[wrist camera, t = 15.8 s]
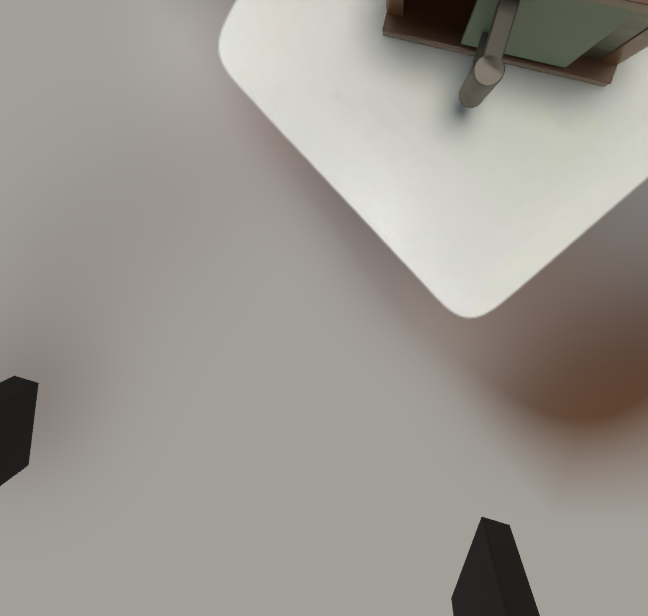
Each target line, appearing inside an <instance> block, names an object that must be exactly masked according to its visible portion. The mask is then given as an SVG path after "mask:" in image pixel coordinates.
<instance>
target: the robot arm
mask: <svg viewBox="0 0 648 616" xmlns="http://www.w3.org/2000/svg"><path fill="white" fill-rule="evenodd" d="M37 391H38V383H37V382H33V381H30V380H26V379H23V378H20V377H16V376H13V377H11V378H9V379H7V380H5V381H3V382H0V486H1V485H2V484H4V483H5V482H6V481H8V480H9V479H10V478H12V477H13V476H14V475H16V474H17V473H18V472H20V471H21V470H23V469H24V468H25V467H26V466H28V465H29V456H30V448H31V440H32V432H33V424H34V415H35V407H36V399H37ZM451 600H452V606H453V615H454V616H540V615H539V612H538V609H537V606H536V603H535V600H534V597H533V594H532V591H531V588H530V585H529V582H528V579H527V576H526V573H525V570H524V567H523V564H522V561H521V558H520V555H519V552H518V549H517V546H516V543H515V540H514V537H513V534H512V531H511V528H510V525H507V524H504V523H501V522H498V521H494V520H491V519H488V518H484V517H481V520H480V523H479V525H478V528H477V531H476V533H475V536H474V539H473V541H472V544H471V547H470V550H469V552H468V555H467V558H466V560H465V563H464V566H463V568H462V571H461V574H460V577H459V579H458V582H457V585H456V588H455V590H454V592H453V595H452V598H451Z"/></svg>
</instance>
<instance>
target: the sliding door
mask: <svg viewBox="0 0 648 616" xmlns="http://www.w3.org/2000/svg"><path fill="white" fill-rule="evenodd" d="M635 13H636V12H635V11H630V10H626V9H621V8H616V7H612V6H607V5H603V4H598V3H594V2H589V1H585V0H477V1H476V4H475V6H474V9H473V11H472V14H471V16H470V19H469V21H468V24H467V27H466V29H465V32H464V34H463V37H462V41H461V44H464V45H468V46H473V47H477V50H476V53H475V57H474V60H473V64H472V67H471V71H470V73H469V75H468V77H467V79H466V80H465V82H464V84H463V86H462V87H461V89H460V92H459V100H460V102H461V104H462V105H463V106H465V107H468V108H473V107H476V106H478V105H479V104H480V103H481V102H482V101H483V100H484V99H485V97H486V96H487V95H488V94H489V93H490V92H491V90H492V89H493V88H494V87H495V86H496V85H497V84H498V82H499V81H500V80H501V79H502V77H503V75H504V72H505V66H504V62H503V60H502V59H503V55H504V54H507V55H512V56H516V57H520V58H525V59H529V60H533V61H538V62H542V63H546V64H551V65H555V66H559V67H564V68H565V67H567V66H568V65H569V64H571V63H572V62H573V61H574V60H576V59H577V58H578V57H580V56H581V55H582V54H583V53H585V52H586V51H587V50H589V49H590V48H591V47H592V46H594V45H595V44H596V43H598V42H599V41H600V40H601V39H603V38H604V37H605V36H607V35H608V34H609V33H610V32H612V31H613V30H614V29H616V28H617V27H618V26H619V25H621V24H622V23H623V22H625V21H626V20H627V19H629V18H630V17H631V16H632V15H634V14H635Z"/></svg>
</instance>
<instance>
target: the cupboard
mask: <svg viewBox="0 0 648 616" xmlns="http://www.w3.org/2000/svg"><path fill="white" fill-rule="evenodd" d="M476 1H477V0H386V6H387V14H386V18H385V22H384V26H383V30H382V31H383V35H386V36H390V37H394V38H398V39H403V40H407V41H411V42H416V43H420V44H424V45H429V46H433V47H437V48H442V49H446V50H450V51H454V52H459V53H463V54H467V55H472V56H475V53H476V50H477V47H473V46H468V45H464V44H461V41H462V37H463V34H464V32H465V29H466V27H467V24H468V21H469V19H470V16H471V14H472V11H473V9H474V6H475V4H476ZM585 1H589V2H594V3H598V4H603V5H607V6H612V7H616V8H621V9H626V10H630V11H635V12H636V13H635V14H634V15H632V16H631V17H630V18H629V19H627V20H626V21H625V22H623V23H622V24H621V25H619V26H618V27H617V28H616V29H614V30H613V31H612V32H610V33H609V34H608V35H607V36H605V37H604V38H603V39H601V40H600V41H599V42H598V43H596V44H595V45H594V46H592V47H591V48H590V49H589V50H587V51H586V52H585V53H583V54H582V55H581V56H580V57H578V58H577V59H576V60H574V61H573V62H572V63H571V64H569V65H568V66H567V67H565V68H564V67H559V66H555V65H551V64H546V63H542V62H538V61H533V60H529V59H525V58H520V57H516V56H512V55H507V54H504V55H503V59H502V60H503V62H504V63H506V64H510V65H515V66H519V67H523V68H528V69H532V70H536V71H541V72H545V73H549V74H554V75H558V76H562V77H567V78H571V79H575V80H579V81H584V82H588V83H592V84H597V85H601V86H607V85H609V84H610V83H611V81H612V78H613V75H614V73H615V70H616V67H617V65H618V64H619V63H621V62H623V61H624V60H626V59H628V58H629V57H631V56H633V55H634V54H636V53H638V52H639V51H641V50H643V49H644V48H646V47H648V0H585Z"/></svg>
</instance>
